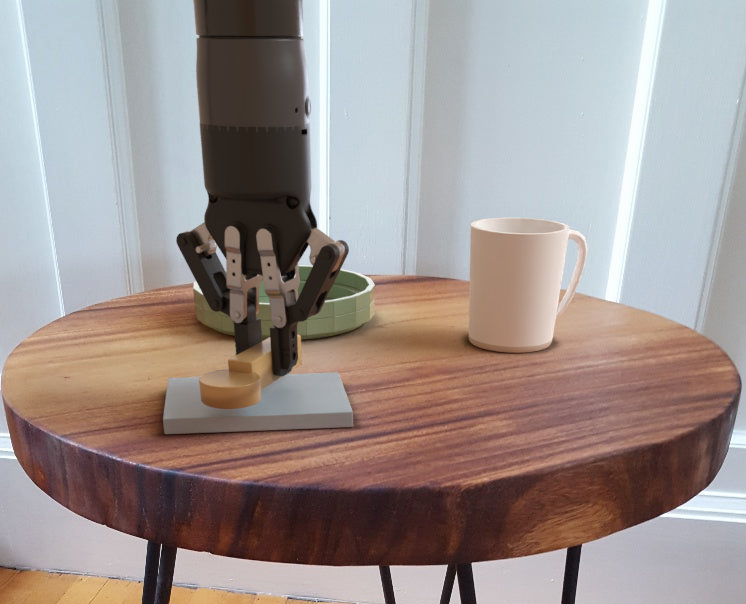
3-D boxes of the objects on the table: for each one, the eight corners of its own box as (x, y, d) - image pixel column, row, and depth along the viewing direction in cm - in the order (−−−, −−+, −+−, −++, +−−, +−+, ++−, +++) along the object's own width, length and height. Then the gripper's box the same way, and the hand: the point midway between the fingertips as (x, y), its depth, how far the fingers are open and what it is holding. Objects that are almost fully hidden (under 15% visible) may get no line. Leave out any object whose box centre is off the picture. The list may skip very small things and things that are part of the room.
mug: (472, 355, 88) (480, 234, 82) (456, 330, 96) (462, 217, 90) (588, 353, 89) (604, 233, 83) (563, 328, 97) (577, 217, 91)
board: (164, 434, 70) (162, 419, 70) (169, 392, 78) (167, 377, 78) (353, 427, 72) (353, 411, 71) (338, 386, 80) (338, 372, 80)
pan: (195, 345, 90) (191, 306, 88) (197, 300, 105) (194, 266, 103) (385, 339, 92) (386, 302, 90) (361, 296, 107) (361, 263, 105)
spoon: (243, 412, 68) (241, 378, 67) (189, 404, 69) (186, 371, 68) (315, 366, 77) (314, 336, 76) (267, 360, 79) (265, 330, 77)
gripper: (137, 117, 64) (166, 374, 74) (323, 125, 60) (328, 397, 70) (195, 110, 70) (214, 349, 80) (368, 117, 66) (367, 369, 75)
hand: (268, 370), depth 75 cm, fingers closed on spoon, 2 cm apart
